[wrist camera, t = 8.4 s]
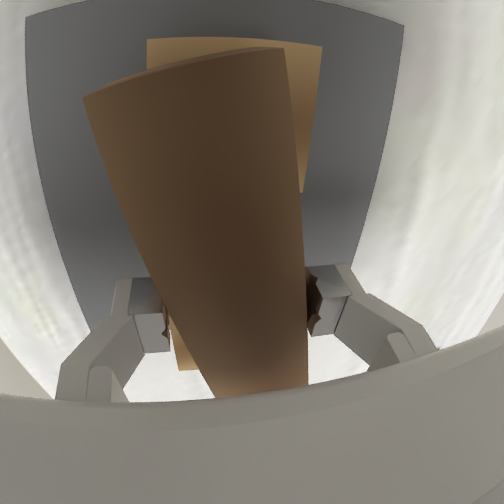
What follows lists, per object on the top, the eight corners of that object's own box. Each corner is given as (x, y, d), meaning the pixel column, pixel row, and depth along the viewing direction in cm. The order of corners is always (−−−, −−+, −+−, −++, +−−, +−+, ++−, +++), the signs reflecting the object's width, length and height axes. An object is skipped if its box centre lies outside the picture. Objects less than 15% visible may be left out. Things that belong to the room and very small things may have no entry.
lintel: (218, 365, 16) (226, 415, 14) (114, 80, 7) (81, 97, 5) (292, 347, 16) (308, 395, 14) (253, 46, 7) (283, 47, 5)
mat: (29, 17, 8) (25, 17, 8) (399, 25, 12) (404, 25, 11) (91, 328, 20) (91, 332, 20) (333, 309, 24) (335, 312, 23)
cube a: (161, 42, 11) (147, 39, 7) (277, 44, 12) (322, 46, 8) (161, 148, 14) (152, 197, 10) (268, 146, 15) (302, 192, 11)
